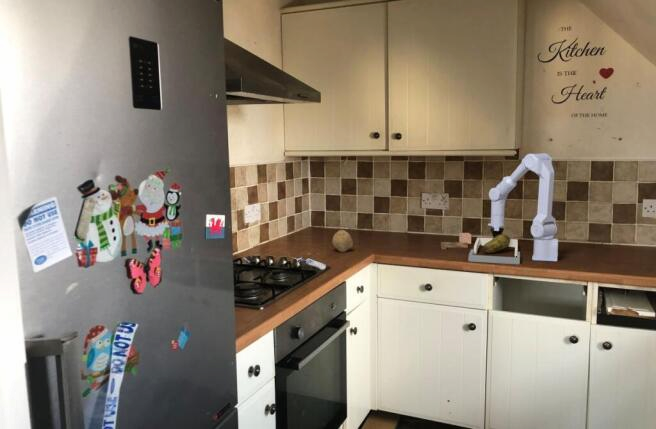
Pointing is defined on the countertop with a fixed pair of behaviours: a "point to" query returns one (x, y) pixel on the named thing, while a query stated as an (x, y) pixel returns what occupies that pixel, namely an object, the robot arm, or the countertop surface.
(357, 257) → the countertop surface
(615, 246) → the countertop surface
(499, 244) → the potato
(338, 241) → the natural sponge
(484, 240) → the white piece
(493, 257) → the frame
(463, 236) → the terracotta block
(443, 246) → the crook tool
